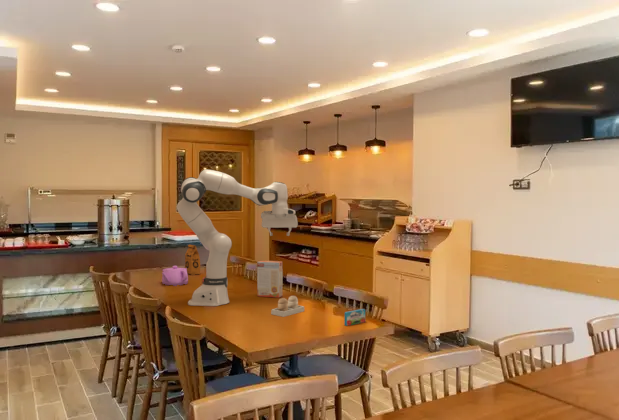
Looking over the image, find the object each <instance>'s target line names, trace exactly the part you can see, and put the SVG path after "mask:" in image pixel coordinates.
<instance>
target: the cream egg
mask: <svg viewBox="0 0 619 420" xmlns="http://www.w3.org/2000/svg"><path fill="white" fill-rule="evenodd" d="M287 301H288V308H292V309H295V308H298V305H299V300H298V297H297V296H296V295H290V296H288V299H287Z"/></svg>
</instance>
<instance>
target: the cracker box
mask: <svg viewBox="0 0 619 420" xmlns="http://www.w3.org/2000/svg"><path fill="white" fill-rule="evenodd" d="M256 263H257V266H256V267H257V268H256V269H257V274H256V275H257V282H256V283H257V286H256V287H257V297H264V298H277V299H280V298H283V295H284V294H283V289H284V288H283V287H284V285H283V279H284V278H283V274H284V273H283V272H284V271H283V261H281V260H280V261H278V260H259V261H257V262H256Z"/></svg>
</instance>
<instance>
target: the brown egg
mask: <svg viewBox="0 0 619 420" xmlns="http://www.w3.org/2000/svg"><path fill="white" fill-rule="evenodd" d="M277 308H278V311H283V312H284V311H288V299H287V298H285V297H280V298H278V301H277Z"/></svg>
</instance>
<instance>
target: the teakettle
mask: <svg viewBox="0 0 619 420" xmlns="http://www.w3.org/2000/svg"><path fill="white" fill-rule="evenodd" d="M161 271H162V272H161V274H162V275H161V276H162V278H161V282H162V285H163V284H165V286H169V285H173V286H172V287H178V286H177V285H180V286H184V285H183V284H185V285H187V284H188V283H189V276H188V275H189V274H188V273H187V268H185V267H178V265H172V267H167V268H163V269H162V270H161Z"/></svg>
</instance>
